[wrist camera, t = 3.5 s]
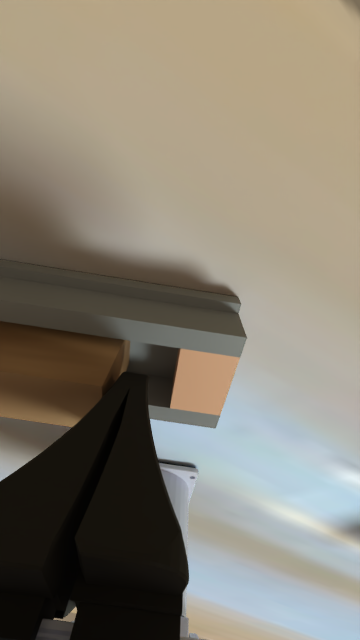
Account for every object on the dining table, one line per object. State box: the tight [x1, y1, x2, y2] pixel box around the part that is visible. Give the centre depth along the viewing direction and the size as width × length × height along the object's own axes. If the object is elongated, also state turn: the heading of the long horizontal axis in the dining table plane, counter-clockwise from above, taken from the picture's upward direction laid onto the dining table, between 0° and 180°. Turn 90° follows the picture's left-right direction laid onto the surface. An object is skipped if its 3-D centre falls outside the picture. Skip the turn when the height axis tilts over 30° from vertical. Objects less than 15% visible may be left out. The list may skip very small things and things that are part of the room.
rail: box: [0, 260, 247, 428], centre depth 14 cm, size 8×22×4 cm, turn 82°
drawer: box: [0, 321, 130, 427], centre depth 12 cm, size 3×8×5 cm, turn 82°
